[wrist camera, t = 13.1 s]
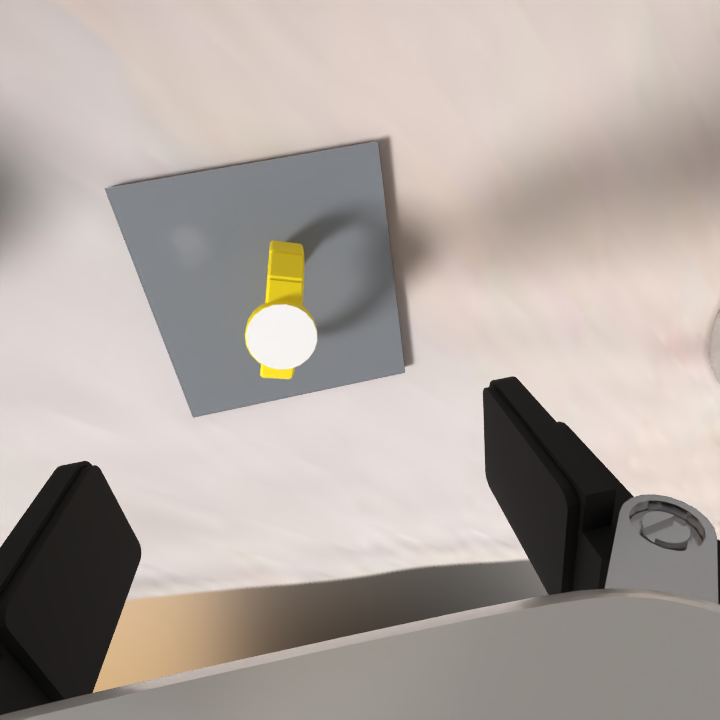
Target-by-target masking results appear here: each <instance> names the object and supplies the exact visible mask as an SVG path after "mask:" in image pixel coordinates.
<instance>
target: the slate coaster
mask: <svg viewBox="0 0 720 720" xmlns="http://www.w3.org/2000/svg"><path fill="white" fill-rule="evenodd" d="M105 191H106V193H107V196H108V199H109V201H110V204H111V206H112V209H113V211H114V214H115V217H116V219H117V222H118V224H119V227H120V230H121V232H122V235H123V237H124V240H125V243H126V245H127V248H128V250H129V253H130V255H131V258H132V261H133V263H134V266H135V268H136V271H137V274H138V276H139V279H140V281H141V284H142V287H143V289H144V292H145V294H146V297H147V299H148V302H149V305H150V307H151V310H152V312H153V315H154V318H155V320H156V323H157V325H158V328H159V331H160V333H161V336H162V338H163V341H164V343H165V346H166V349H167V351H168V354H169V356H170V359H171V362H172V364H173V367H174V369H175V372H176V375H177V377H178V380H179V382H180V385H181V387H182V390H183V393H184V395H185V398H186V400H187V403H188V406H189V408H190V411H191V413H192V416H193V418H194V417H198V416H203V415H208V414H212V413H217V412H222V411H227V410H231V409H236V408H241V407H245V406H250V405H255V404H259V403H264V402H269V401H274V400H278V399H283V398H288V397H292V396H297V395H302V394H307V393H311V392H316V391H321V390H325V389H330V388H335V387H339V386H344V385H349V384H354V383H358V382H363V381H368V380H372V379H377V378H382V377H387V376H391V375H396V374H401V373H405V368H404V359H403V351H402V342H401V334H400V325H399V317H398V308H397V300H396V291H395V283H394V274H393V266H392V257H391V249H390V240H389V232H388V223H387V215H386V206H385V198H384V189H383V181H382V172H381V164H380V155H379V146H378V141H373V142H368V143H362V144H356V145H350V146H344V147H339V148H333V149H327V150H321V151H315V152H310V153H304V154H298V155H292V156H286V157H281V158H275V159H269V160H263V161H257V162H252V163H246V164H240V165H234V166H229V167H223V168H217V169H211V170H205V171H200V172H194V173H188V174H182V175H176V176H171V177H165V178H159V179H153V180H147V181H142V182H136V183H130V184H124V185H118V186H113V187H108V188H105ZM272 240H274V241H282V242H290V243H298V244H301V245H302V246H303V250H304V283H303V284H304V289H303V304H302V306H303V307H305V308H306V309H307V311H308V312H309V313H310V314H311V315H312V317H313V319H314V322H315V324H316V328H317V344H316V347H315V350H314V352H313V353H312V354H311V356H310V357H309V359H308V360H306V361H305V362H304V363H302V364H301V365H299V366H297V367H295V371H294V375H293V377H292V378H290V379H276V378H262V377H261V376H260V369H261V364H260V363H259V362H257V361H256V359H255V358H254V357H253V356H252V355H251V354H250V352H249V350H248V348H247V346H246V340H245V331H246V326H247V322H248V319H249V317H250V316H251V314H252V313H253V311H254V310H255V309H256V308H258V307H259V306H260V305H262V304H263V303H265V300H266V287H267V274H268V261H269V249H270V242H271V241H272Z"/></svg>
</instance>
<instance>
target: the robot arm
mask: <svg viewBox="0 0 720 720" xmlns="http://www.w3.org/2000/svg"><path fill="white" fill-rule="evenodd" d="M710 360H711V367H712V370H713V372H714V374H715V377H716V379H717V380H718V381H719V382H720V311H719V313H718V316H717V318H716V321H715V324H714V328H713V331H712V335H711V343H710ZM483 408H484V440H485V472H486V478H487V482H488V485H489V487H490V489H491V491H492V492H493V494H494V496H495V498H496V500H497V502H498V503H499V505H500V507H501V509H502V511H503V512H504V514H505V516H506V518H507V520H508V522H509V523H510V525H511V527H512V529H513V531H514V532H515V534H516V536H517V538H518V540H519V542H520V543H521V545H522V547H523V549H524V551H525V553H526V554H527V556H528V558H529V560H530V562H531V563H532V565H533V567H534V569H535V571H536V573H537V574H538V576H539V578H540V580H541V582H542V584H543V585H544V587H545V589H546V591H547V593H548V594H549V595H546V596H540V597H534V598H529V599H524V600H520V601H514V602H509V603H504V604H499V605H494V606H488V607H483V608H478V609H473V610H468V611H463V612H458V613H454V614H449V615H445V616H440V617H435V618H430V619H426V620H422V621H416V622H412V623H408V624H402V625H398V626H393V627H388V628H384V629H379V630H375V631H370V632H365V633H360V634H356V635H351V636H347V637H342V638H338V639H333V640H329V641H324V642H319V643H315V644H310V645H306V646H301V647H296V648H292V649H287V650H283V651H278V652H274V653H269V654H264V655H260V656H256V657H251V658H246V659H242V660H238V661H233V662H229V663H224V664H219V665H215V666H211V667H206V668H201V669H197V670H192V671H188V672H184V673H179V674H175V675H170V676H166V677H161V678H157V679H153V680H148V681H144V682H139V683H135V684H130V685H126V686H122V687H117V688H113V689H108V690H105V691H100V692H95V693H93V690H94V687H95V684H96V681H97V679H98V676H99V673H100V670H101V667H102V665H103V662H104V659H105V656H106V654H107V651H108V648H109V645H110V643H111V640H112V637H113V634H114V632H115V629H116V626H117V623H118V620H119V618H120V615H121V612H122V609H123V606H124V603H125V601H126V598H127V595H128V593H129V590H130V587H131V584H132V582H133V579H134V576H135V573H136V570H137V568H138V565H139V562H140V559H141V547H140V544H139V541H138V540H137V538H136V536H135V534H134V532H133V530H132V528H131V526H130V524H129V523H128V521H127V519H126V517H125V515H124V513H123V511H122V509H121V507H120V505H119V504H118V502H117V500H116V498H115V496H114V494H113V492H112V490H111V488H110V487H109V485H108V483H107V481H106V479H105V477H104V475H103V473H102V471H101V470H100V468H99V467H98V466H95V465H94V466H92V464H91V463H89V462H87V461H82V462H77V463H72V464H67V465H62V466H59V467H58V468H57V469H56V470H55V471H54V472H53V474H52V475H51V477H50V478H49V479H48V481H47V482H46V484H45V485H44V487H43V488H42V489H41V491H40V492H39V494H38V495H37V496H36V498H35V499H34V501H33V502H32V503H31V505H30V506H29V508H28V509H27V511H26V512H25V513H24V515H23V516H22V518H21V519H20V520H19V522H18V523H17V525H16V526H15V527H14V529H13V530H12V532H11V533H10V535H9V536H8V537H7V539H6V540H5V542H4V543H3V544H2V546H1V547H0V720H720V541H719V540H717V536H716V532H715V529H714V527H713V526H712V524H711V523H710V521H709V520H708V519H707V518H706V517H705V516H704V515H703V514H702V513H700V512H699V511H698V510H697V509H695V508H693V507H692V506H690V505H688V504H686V503H684V502H682V501H679V500H676V499H673V498H671V497H667V496H660V495H640V496H636V497H633V496H632V495H631V493H630V492H629V491H628V490H627V489H626V488H625V487H624V486H623V485H622V484H621V483H620V482H619V481H618V479H617V478H616V477H615V476H614V475H613V474H612V473H611V472H610V471H609V470H608V469H607V468H606V467H605V465H604V464H603V463H602V462H601V461H600V460H599V459H598V458H597V457H596V456H595V455H594V454H593V453H592V451H591V450H590V449H589V448H588V447H587V446H586V445H585V444H584V443H583V442H582V441H581V440H580V439H579V437H578V436H577V435H576V434H575V433H574V432H573V431H572V430H571V429H570V428H569V427H568V426H567V425H566V424H565V423H563V422H556V421H555V420H554V419H553V418H552V417H551V416H550V414H549V413H548V412H547V411H546V410H545V409H544V408H543V407H542V406H541V404H540V403H539V402H538V401H537V400H536V399H535V398H534V397H533V396H532V394H531V393H530V392H529V391H528V390H527V389H526V388H525V387H524V386H523V384H522V383H521V382H520V381H519V380H518V379H517V378H516V377H508V378H503V379H498V380H492V381H491V382H490V386H489V387H487V388H484V390H483Z"/></svg>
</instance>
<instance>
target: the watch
mask: <svg viewBox="0 0 720 720" xmlns="http://www.w3.org/2000/svg"><path fill="white" fill-rule="evenodd" d="M303 283H304V250H303V246H302V245H301V244H298V243H290V242H282V241H274V240H272V241H271V242H270V249H269V261H268V274H267V287H266V300H265V303H263V304H262V305H260V306H259V307H258V308H256V309H255V310H254V311H253V313H252V314H251V316H250V317H249V319H248V322H247V326H246V331H245V340H246V346H247V348H248V350H249V352H250V354H251V355H252V356H253V357H254V358H255V359H256V361H257V362H259V363H260V364H261V369H260V376H261V377H262V378H276V379H290V378H292V377H293V375H294V371H295V367H297V366H299V365H301V364H302V363H304V362H305V361H306V360H308V359H309V357H310V356H311V354H312V353H313V352H314V350H315V347H316V344H317V328H316V324H315V322H314V319H313V317H312V315H311V314H310V313H309V312H308V311H307V309H306V308H305V307H303V306H302V304H303V289H304V284H303Z"/></svg>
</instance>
